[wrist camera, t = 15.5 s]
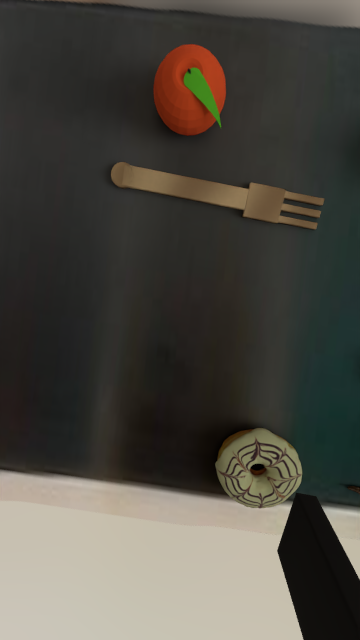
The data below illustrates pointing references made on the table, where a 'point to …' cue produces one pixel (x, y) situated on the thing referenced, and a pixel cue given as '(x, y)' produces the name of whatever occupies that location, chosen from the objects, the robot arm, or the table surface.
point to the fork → (220, 194)
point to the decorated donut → (258, 484)
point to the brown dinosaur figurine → (354, 489)
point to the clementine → (189, 90)
